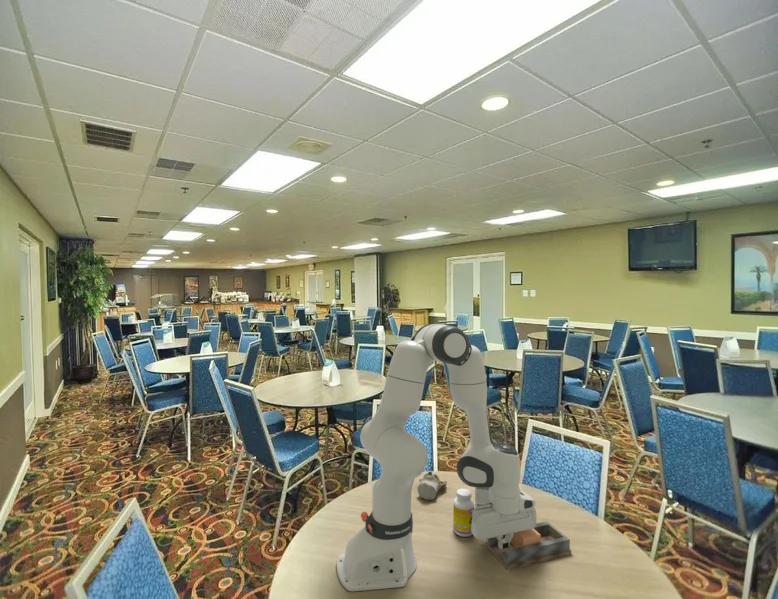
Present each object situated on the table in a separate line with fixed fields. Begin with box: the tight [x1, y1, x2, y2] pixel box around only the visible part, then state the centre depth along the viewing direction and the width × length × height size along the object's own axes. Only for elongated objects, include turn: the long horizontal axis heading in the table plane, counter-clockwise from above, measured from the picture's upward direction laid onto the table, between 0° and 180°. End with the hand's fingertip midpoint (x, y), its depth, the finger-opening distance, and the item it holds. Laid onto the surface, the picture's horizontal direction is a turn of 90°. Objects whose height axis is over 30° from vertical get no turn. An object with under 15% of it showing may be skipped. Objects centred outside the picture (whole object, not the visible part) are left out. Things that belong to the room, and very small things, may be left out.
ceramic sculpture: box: [416, 471, 448, 501], centre depth 149 cm, size 11×9×15 cm
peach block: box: [511, 529, 541, 548], centre depth 116 cm, size 6×6×5 cm
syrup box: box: [474, 487, 489, 509], centre depth 134 cm, size 6×6×14 cm
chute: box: [485, 520, 572, 571], centre depth 116 cm, size 22×11×4 cm, turn 108°
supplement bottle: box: [452, 488, 475, 538], centre depth 125 cm, size 7×7×13 cm
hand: (503, 547), depth 113 cm, fingers closed
